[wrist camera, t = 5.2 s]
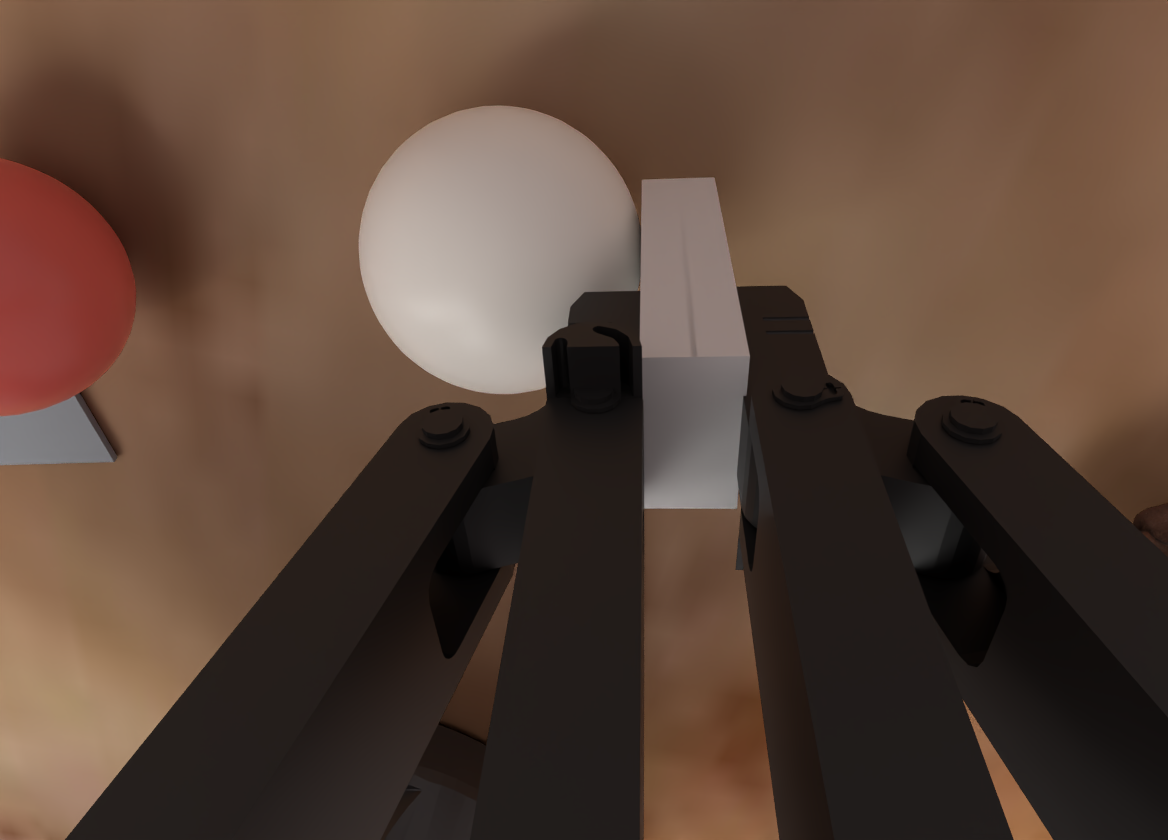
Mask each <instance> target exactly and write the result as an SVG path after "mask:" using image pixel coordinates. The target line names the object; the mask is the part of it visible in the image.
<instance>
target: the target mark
mask: <svg viewBox="0 0 1168 840" xmlns="http://www.w3.org/2000/svg"><path fill="white" fill-rule="evenodd" d="M117 458H118V457H117V455H116V454H115V452H114V450H113V449H112V447H111V445H110V444H109V442H108V440H107V439H106V437H105V435H104V434H103V432H102V430H101V428H100V427H99V425H98V423H97V422H96V420H95V418H94V417H93V415H92V413H91V412H90V410H89V408H88V406H87V405H86V403H85V401H84V400H83V398H82V396H81V395H80V393H78V394H76V395H75V396H73V397H71V398H70V399H68V400H65V401H63V402H60V403H58V404H55V405H53V406H50V407H48V408H45V409H42V410H37V411H33V412H29V413H24V414H20V415H11V416H0V465H21V464H58V463H95V462H115V460H116V459H117Z"/></svg>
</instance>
